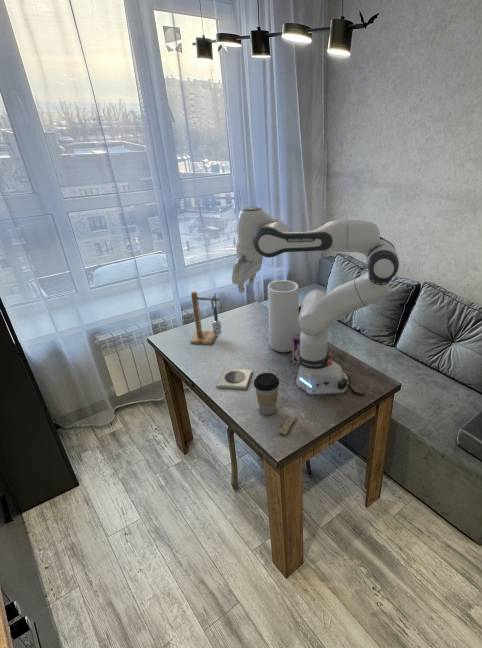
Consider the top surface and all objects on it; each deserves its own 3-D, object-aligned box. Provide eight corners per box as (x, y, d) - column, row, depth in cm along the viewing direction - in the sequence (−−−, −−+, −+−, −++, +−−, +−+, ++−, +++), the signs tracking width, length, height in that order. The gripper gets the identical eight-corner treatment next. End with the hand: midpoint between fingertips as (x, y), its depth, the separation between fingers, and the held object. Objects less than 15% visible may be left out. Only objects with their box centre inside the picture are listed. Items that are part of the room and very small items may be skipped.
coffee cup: (275, 420, 149) (274, 388, 141) (251, 416, 150) (249, 384, 143) (283, 404, 157) (282, 373, 149) (260, 400, 158) (258, 369, 151)
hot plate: (251, 372, 174) (251, 369, 174) (246, 389, 164) (245, 386, 163) (224, 370, 175) (224, 367, 174) (217, 387, 164) (216, 384, 163)
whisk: (223, 332, 198) (219, 293, 187) (220, 338, 193) (215, 298, 182) (215, 332, 198) (210, 292, 187) (212, 337, 193) (207, 297, 182)
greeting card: (291, 363, 182) (291, 335, 174) (298, 355, 188) (298, 327, 180) (313, 369, 178) (314, 341, 170) (320, 361, 184) (321, 333, 176)
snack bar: (286, 434, 142) (278, 430, 142) (284, 437, 143) (277, 433, 143) (296, 417, 149) (289, 413, 150) (295, 420, 150) (288, 416, 151)
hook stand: (227, 334, 201) (222, 289, 189) (221, 345, 193) (216, 298, 180) (197, 333, 202) (191, 287, 189) (191, 343, 193) (183, 296, 180)
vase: (263, 347, 193) (260, 287, 177) (281, 335, 203) (280, 277, 187) (287, 356, 187) (286, 295, 170) (304, 343, 197) (305, 284, 181)
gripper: (245, 262, 135) (243, 299, 142) (266, 247, 153) (263, 281, 159) (228, 258, 136) (226, 295, 142) (250, 244, 153) (248, 277, 160)
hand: (246, 287), depth 151 cm, fingers open, 8 cm apart
